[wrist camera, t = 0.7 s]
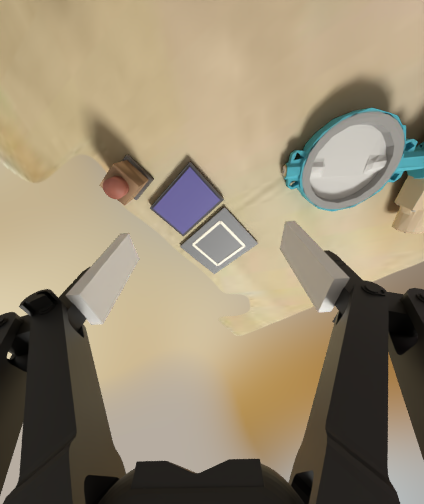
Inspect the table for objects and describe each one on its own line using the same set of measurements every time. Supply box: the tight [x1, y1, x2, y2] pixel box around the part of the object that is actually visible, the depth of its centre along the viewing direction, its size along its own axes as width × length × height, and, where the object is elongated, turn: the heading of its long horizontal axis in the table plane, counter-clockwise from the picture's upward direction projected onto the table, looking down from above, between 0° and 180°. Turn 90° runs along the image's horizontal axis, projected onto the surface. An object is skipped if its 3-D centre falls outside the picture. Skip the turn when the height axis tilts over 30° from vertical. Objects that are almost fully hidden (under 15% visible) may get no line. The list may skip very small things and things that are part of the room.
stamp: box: [100, 155, 154, 205], centre depth 29 cm, size 6×6×8 cm
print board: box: [180, 207, 258, 274], centre depth 40 cm, size 12×14×1 cm
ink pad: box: [150, 162, 224, 236], centre depth 34 cm, size 9×12×2 cm
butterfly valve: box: [282, 108, 424, 233], centre depth 28 cm, size 27×7×30 cm
